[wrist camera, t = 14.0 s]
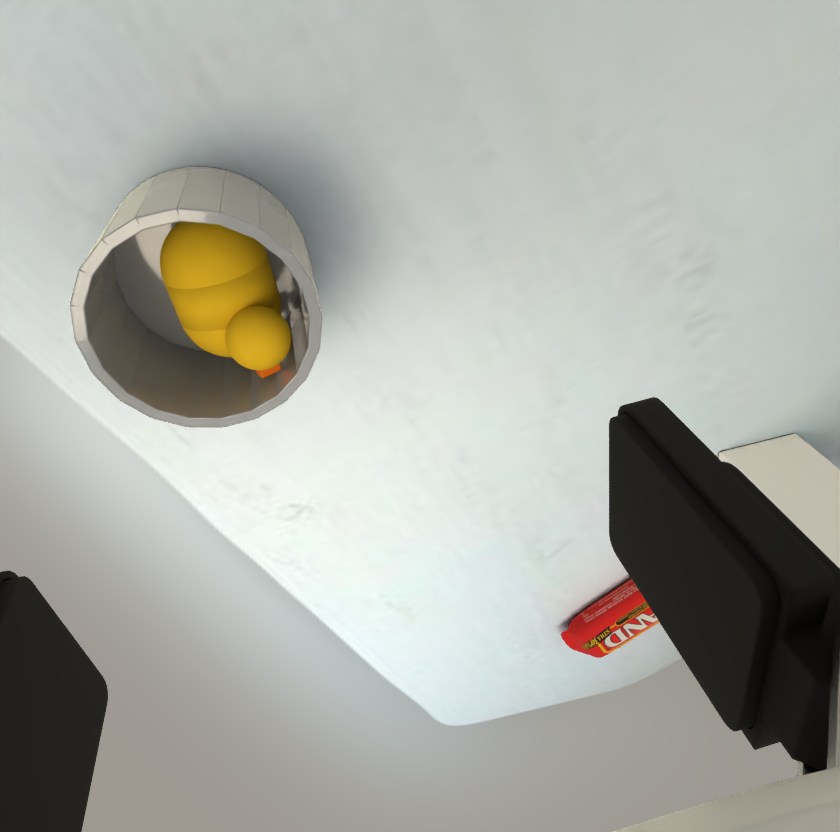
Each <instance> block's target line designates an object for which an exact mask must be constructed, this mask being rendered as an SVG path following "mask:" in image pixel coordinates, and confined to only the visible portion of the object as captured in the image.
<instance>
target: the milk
mask: <svg viewBox="0 0 840 832" xmlns="http://www.w3.org/2000/svg"><path fill="white" fill-rule="evenodd" d="M718 458H719V460H720V461H721V462H723V461H724V462H728V463H731V464H732V465H734V466H735V467H736V468H738V469H739V470H740V471H741V472H742V473H743V474H744V475H745V476H746V477H747V478H748V479H749V480H750V481H751V482H752V483H753V484H754V485H755V486H756V487H757V488H758V489H759V490H760V491H761V492H762V493H763V494H764V495H765V496H766V497H767V498H768V499H769V500H770V501H772V502H773V503H774V504H775V505H776V506H777V507H778V508H779V509H780V510H781V511H782V512H783V513H784V514H785V515H786V516H787V517H788V518H789V519H790V520H791V521H792V522H793V523H794V524H795V525H796V526H797V527H798V528H799V529H800V530H801V531H802V532H803V533H804V534H805V535H806V536H807V537H808V538H809V539H810V540H811V541H812V542H813V543H814V544H815V545H816V546H817V547H818V548H819V549H820V550H821V551H822V552H823V553H824V554H825V555H826V556H827V557H828V558H829V559H830V560H831V561H832V562H833V563H835V564H836V565H837V566H838V567H839V568H840V469H839V468H837V467H836V466H835V465H834V464H832V463H831V462H830V461H829V460H828V459H826V458H825V457H824V456H823V455H821V454H820V453H819V452H818V451H816V450H815V449H814V448H813V447H812V446H810V445H809V444H808V443H807V442H805V441H804V440H803V439H802V438H800V437H799V436H798V435H797V434H791V435H787V436H783V437H779V438H775V439H771V440H767V441H763V442H759V443H755V444H751V445H747V446H743V447H739V448H735V449H731V450H727V451H723V452H720V453H719V457H718Z"/></svg>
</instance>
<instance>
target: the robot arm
mask: <svg viewBox="0 0 840 832" xmlns="http://www.w3.org/2000/svg"><path fill="white" fill-rule="evenodd" d="M609 535H610V541H611V544H612V547H613V549H614V552H615V553H616V555H617V557H618V558H619V560H620V562H621V563H622V565H623V566H624V568H625V569H626V571H627V572H628V574H629V576H630V577H631V579H632V580H633V582H634V583H635V585H636V586H637V588H638V589H639V591H640V593H641V594H642V596H643V597H644V599H645V600H646V602H647V603H648V605H649V607H650V608H651V610H652V611H653V613H654V614H655V616H656V617H657V619H658V620H659V622H660V624H661V625H662V627H663V628H664V630H665V631H666V633H667V634H668V636H669V637H670V639H671V641H672V642H673V644H674V645H675V647H676V648H677V650H678V651H679V653H680V655H681V656H682V658H683V659H684V661H685V662H686V664H687V665H688V667H689V668H690V670H691V671H692V673H693V675H694V676H695V678H696V679H697V681H698V682H699V684H700V685H701V687H702V689H703V690H704V692H705V693H706V695H707V696H708V698H709V699H710V701H711V703H712V704H713V706H714V707H715V709H716V710H717V712H718V713H719V715H720V716H721V718H722V720H723V721H724V722H725V724H726V725H727V726H728V727H729V728H730V729H731V730H733V731H739V730H742V731H743V733H744V735H745V736H746V738H747V739H748V741H749V742H750V744H751V745H752V747H753V748H754V749H755V750H756V749H759V748H762V747H765V746H768V745H771V744H775V743H778V742H781V743H782V745H783V746H784V748H785V749H786V750H787V752H788V753H789V755H790V756H791V758H792V759H794V760H797V761H798V772H797V777H794V778H790V779H786V780H782V781H777V782H773V783H770V784H767V785H764V786H760V787H756V788H753V789H750V790H746V791H743V792H740V793H736V794H733V795H730V796H726V797H723V798H720V799H716V800H713V801H710V802H706V803H703V804H700V805H696V806H693V807H689V808H686V809H683V810H679V811H677V812H673V813H670V814H666V815H663V816H660V817H657V818H653V819H650V820H647V821H644V822H641V823H638V824H635V825H631V826H629V827H625V828H622V829H619V830H616V831H613V832H840V568H839V567H838V566H837V565H836V564H835V563H833V562H832V561H831V560H830V559H829V558H828V557H827V556H826V555H825V554H824V553H823V552H822V551H821V550H820V549H819V548H818V547H817V546H816V545H815V544H814V543H813V542H812V541H811V540H810V539H809V538H808V537H807V536H806V535H805V534H804V533H803V532H802V531H801V530H800V529H799V528H798V527H797V526H796V525H795V524H794V523H793V522H792V521H791V520H790V519H789V518H788V517H787V516H786V515H785V514H784V513H783V512H782V511H781V510H780V509H779V508H778V507H777V506H776V505H775V504H774V503H773V502H772V501H770V500H769V499H768V498H767V497H766V496H765V495H764V494H763V493H762V492H761V491H760V490H759V489H758V488H757V487H756V486H755V485H754V484H753V483H752V482H751V481H750V480H749V479H748V478H747V477H746V476H745V475H744V474H743V473H742V472H741V471H740V470H739V469H738V468H736V467H735V466H734V465H732V464H731V463H728V462H724V461H723V462H721V461H720V460H719V458H718V457H717V456H716V455H715V454H714V453H713V452H712V451H711V450H710V449H709V448H708V447H707V446H706V445H705V444H704V443H703V442H702V441H701V440H700V439H699V438H698V437H697V436H696V435H695V434H694V433H693V432H692V431H691V430H690V429H689V428H688V427H687V426H686V425H685V424H684V423H683V422H682V421H681V420H680V419H679V418H678V417H677V416H676V415H675V414H674V413H673V412H672V411H671V410H670V409H669V408H668V407H667V406H666V405H665V404H664V403H663V402H662V401H661V400H659V399H658V398H654V397H653V398H649V399H645V400H641V401H638V402H634V403H630V404H626V405H623V406H621V407H620V408H619V411H618V416H616V417H613V418H611V419H610V423H609ZM107 701H108V691H107V685H106V682H105V680H104V678H103V676H102V675H101V674H100V672H99V671H98V670H97V668H96V667H95V666H94V664H93V663H92V661H91V660H90V659H89V657H88V656H87V655H86V653H85V652H84V651H83V650H82V648H81V647H80V645H79V644H78V643H77V641H76V640H75V639H74V637H73V636H72V635H71V633H70V632H69V631H68V629H67V628H66V627H65V625H64V624H63V623H62V621H61V620H60V619H59V617H58V616H57V615H56V613H55V612H54V610H53V609H52V608H51V607H50V605H49V604H48V603H47V601H46V600H45V598H44V597H43V596H42V595H41V593H40V592H39V591H38V589H37V588H36V586H35V585H34V584H33V582H32V581H31V580H30V579H29V578H27V577H25V576H23V577H18V576H17V575H16V574H15V573H13V572H11V571H3V572H0V832H81V830H82V826H83V821H84V815H85V811H86V806H87V801H88V796H89V791H90V786H91V781H92V776H93V771H94V766H95V761H96V756H97V751H98V746H99V741H100V736H101V731H102V726H103V722H104V717H105V712H106V706H107Z"/></svg>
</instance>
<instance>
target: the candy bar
mask: <svg viewBox="0 0 840 832" xmlns="http://www.w3.org/2000/svg"><path fill="white" fill-rule="evenodd" d="M657 623H659V620H658V619H657V617H656V616H655V614H654V613H653V611H652V610H651V608H650V607H649V605H648V603H647V602H646V600H645V599H644V597H643V596H642V594H641V593H640V591H639V589H638V588H637V586H636V585H635V583H634V582H633V580H632V579H630V580H629V581H627V582H625V583H624V584H622V585H621V586H619V587H618V588H616V589H615V590H613V591H612V592H610V593H609V594H607V595H606V596H604V597H603V598H601V599H600V600H598V601H597V602H595V603H594V604H592V605H591V606H589V607H588V608H587V609H585V610H584V611H582V612H581V613H580V614H578V615H577V616H576V617H575V618H574V619H572V621H571V623H570V624H569V628H568V630H567V631H564V632H562V634H561V636H562V638H563V640H564V641H565V643H566V644H567V645H568V646H569V647H570V648H572V649H573V650H576V651H579V652H582V653H585V654H589V655H591V656H594V657H600V658H601V657H603V656H605V655H607V654H609V653H611V652H613V651H614V650H616V649H617V648H619V647H621V646H622V645H624V644H626V643H627V642H629V641H630V640H632V639H633V638H635V637H637V636H638V635H640V634H641V633H643V632H644V631H646V630H648V629H649V628H651V627H652V626H654V625H655V624H657Z"/></svg>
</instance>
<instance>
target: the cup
mask: <svg viewBox="0 0 840 832" xmlns="http://www.w3.org/2000/svg"><path fill="white" fill-rule="evenodd" d="M180 221H181V222H194V223H206V224H218V225H221V226H224V227H226V228H229V229H231V230H234V231H236V232H239V233H242V234H244V235H247V236H249V237H252V238H254V239H255V240H257V241H258V242H259V243H261V244H262V245H263V246H264V248H265V250H266V252H267V256H268V259H269V262H270V265H271V268H272V272H273V275H274V278H275V281H276V285H277V288H278V291H279V294H280V299H281V315H282V316H283V318H284V319H285V320H286V322H287V323H288V325H289V328H290V331H291V347H290V350H289V352H288V354H287V356H286V357H285V359H284V360H283V361H282V362H281V363H280V366H281V370H280V371H278V372H276V373H273V374H271V375H269V376H267V377H265V378H261V377H260V376H259V375H258V374H257V372H256V370H252V369H248V368H246V367H243V366H242V365H240V364H239V363H237V362H236V361H235V360H234V359H233V357H223V356H218V355H214V354H212V353H210V352H207V351H205V350H204V349H202V348H200V347H199V346H198V345H197V344H195V343H194V342H193V341H192V340H191V339H190V337H189V336H188V335H187V334H186V332H185V330H184V329H183V327H182V325H181V323H180V320H179V318H178V316H177V313H176V311H175V308H174V306H173V303H172V301H171V299H170V296H169V294H168V291H167V289H166V286H165V284H164V282H163V278H162V275H161V270H160V254H161V248H162V245H163V243H164V240H165V238H166V236H167V235H168V233H169V232H170V230H171V229H172V228H173V227H174V226H175V225H176V224H178V223H179V222H180ZM70 304H71V305H70V308H71V315H72V323H73V330H74V337H75V340H76V343H77V345H78V347H79V349H80V351H81V353H82V355H83V357H84V359H85V361H86V362H87V364H88V366H89V368H90V370H91V372H92V373H93V375H94V376H95V377H96V378H97V379H98V380H99V381H100V382H101V383H102V384H103V385H104V386H105V387H107V388H108V389H109V390H110V391H111V392H112V393H113V394H114V395H115V396H116V397H117V398H118V399H119V400H120V401H122V402H124V403H125V404H127V405H129V406H131V407H133V408H134V409H136V410H138V411H140V412H142V413H143V414H145V415H147V416H149V417H152V418H154V419H158V420H161V421H165V422H169V423H173V424H177V425H181V426H185V427H187V426H188V427H226V426H230V425H234V424H238V423H242V422H246V421H250V420H254V419H256V418H259V417H260V416H262V415H264V414H266V413H267V412H269V411H271V410H272V409H274V408H276V407H278V406H279V405H281V404H283V403H284V402H285V401H287V400H288V398H289V397H290V396H291V395H292V394H293V393H294V392H295V391H296V390H297V389H298V388H299V386H300V385H301V384H302V383H303V382H304V381H305V380H306V378H307V377H308V375H309V373H310V371H311V368H312V366H313V364H314V361H315V359H316V357H317V355H318V352H319V349H320V342H321V328H322V313H321V308H320V304H319V299H318V295H317V290H316V285H315V281H314V276H313V272H312V267H311V263H310V259H309V255H308V252H307V247H306V244H305V241H304V237H303V235H302V233H301V231H300V229H299V227H298V225H297V223H296V221H295V220H294V218H293V217H292V215H291V214H290V212H289V211H288V210H287V208H286V207H285V206H284V205H283V204H282V203H281V202H280V201H279V200H278V199H277V198H276V197H275V196H274V195H273V194H272V193H271V192H269V191H268V190H266V189H265V188H264V187H262V186H261V185H259V184H258V183H256V182H254V181H252V180H250V179H248V178H247V177H244V176H242V175H239V174H236V173H234V172H231V171H227V170H223V169H219V168H211V167H185V168H178V169H173V170H170V171H166V172H163V173H160V174H158V175H156V176H154V177H152V178H149V179H148V180H146V181H145V182H143V183H142V184H140V185H139V186H137V187H136V188H135V189H134V190H133V191H132V192H130V193H129V194H128V195H127V196H126V198H125V199H124V200H123V201H122V203H121V204H120V205H119V207H118V208H117V210H116V211H115V212H114V214H113V215H112V217H111V218H110V219H109V221H108V223H107V224H106V226H105V228H104V229H103V231H102V232H101V234H100V236H99V237H98V239H97V241H96V242H95V244H94V245H93V247H92V249H91V250H90V252H89V254H88V255H87V257H86V258H85V260H84V262H83V263H82V265H81V266H80V269H79V270H78V274H77V278H76V282H75V286H74V290H73V294H72V298H71V302H70Z"/></svg>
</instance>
